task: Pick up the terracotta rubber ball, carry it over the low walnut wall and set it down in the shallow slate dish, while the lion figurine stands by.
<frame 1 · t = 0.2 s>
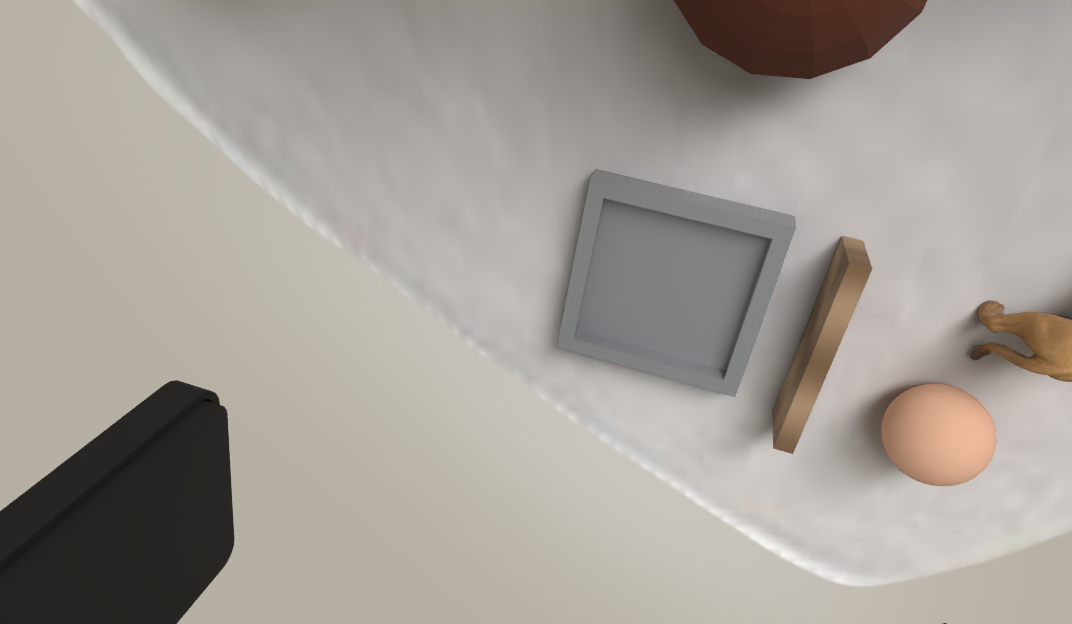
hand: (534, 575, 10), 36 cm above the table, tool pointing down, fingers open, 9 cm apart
ball: (927, 405, 46), on the table
walnut wall: (814, 332, 46), on the table
slate dish: (668, 280, 47), on the table
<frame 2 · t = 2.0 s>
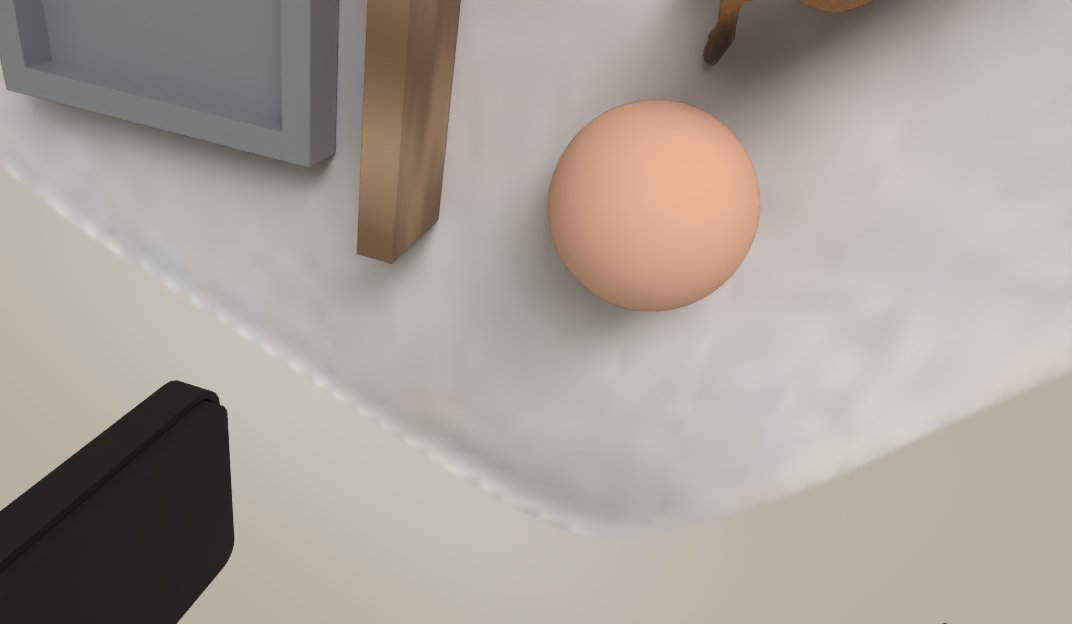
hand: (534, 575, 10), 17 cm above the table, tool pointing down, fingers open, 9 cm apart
ball: (662, 176, 24), on the table
walnut wall: (439, 28, 23), on the table
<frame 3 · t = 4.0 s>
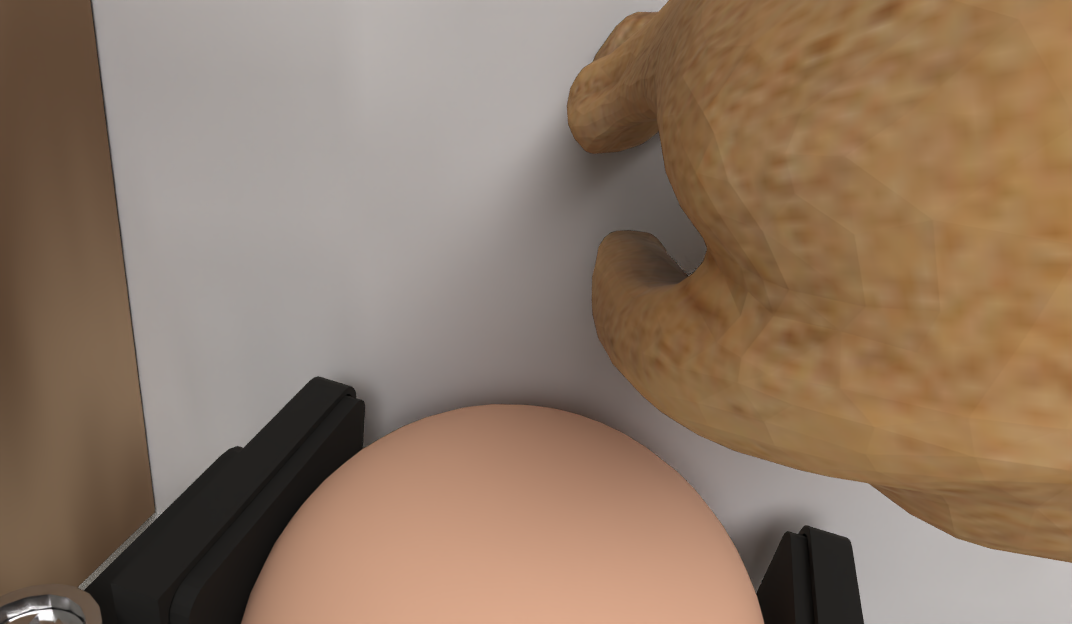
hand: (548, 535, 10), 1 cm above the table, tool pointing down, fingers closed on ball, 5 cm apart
ball: (562, 493, 11), on the table, touching gripper
walnut wall: (79, 181, 11), on the table
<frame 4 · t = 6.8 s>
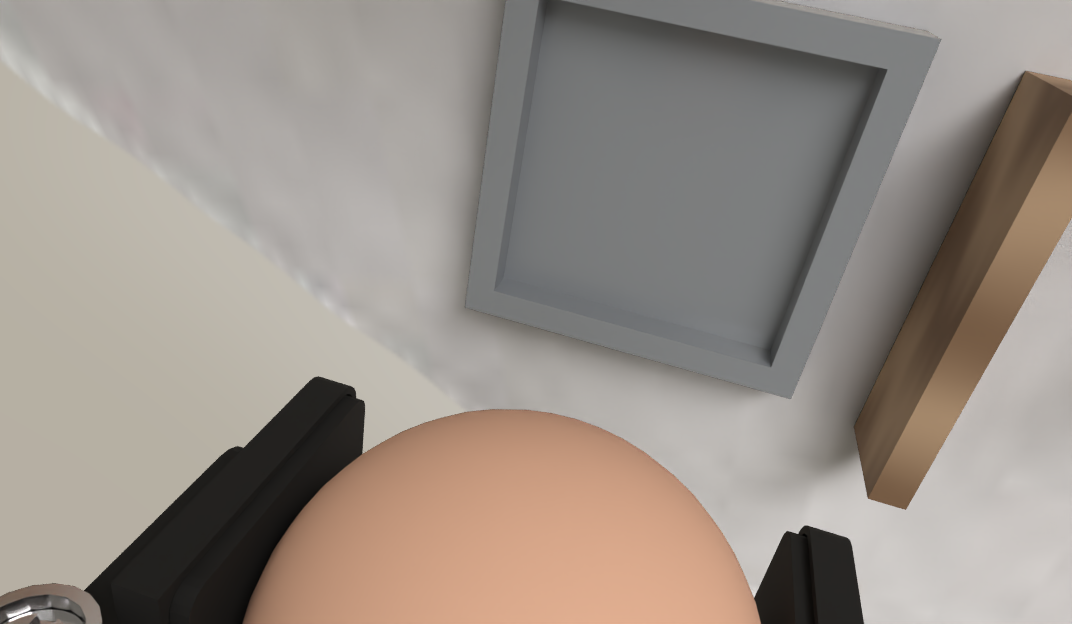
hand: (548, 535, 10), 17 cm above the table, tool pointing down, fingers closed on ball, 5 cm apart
ball: (561, 497, 11), point 16 cm above the table, touching gripper
walnut wall: (947, 277, 24), on the table
slate dish: (669, 178, 25), on the table
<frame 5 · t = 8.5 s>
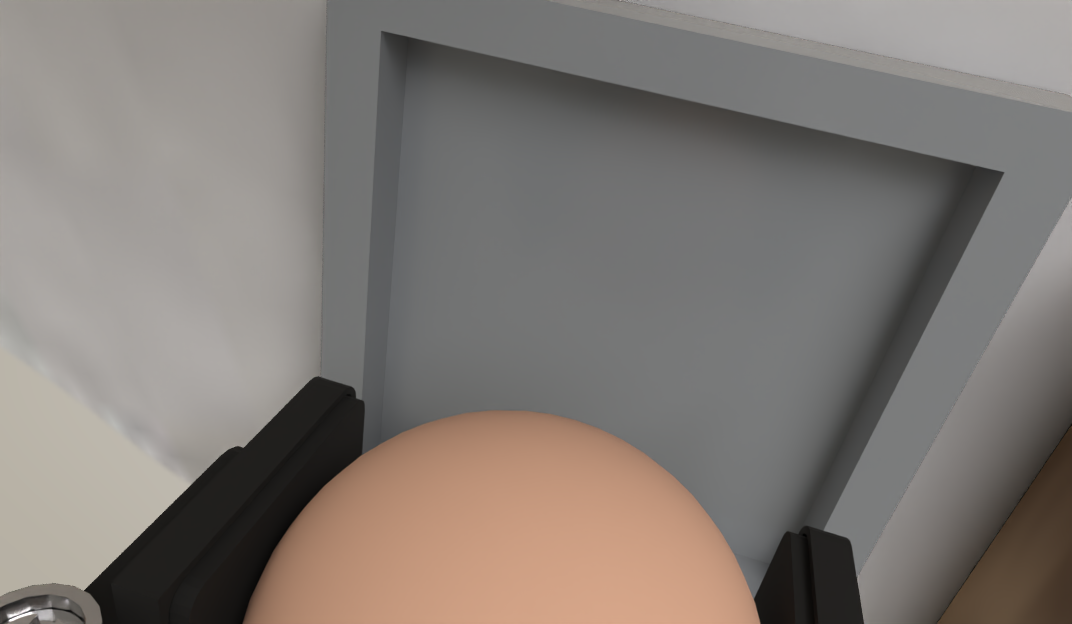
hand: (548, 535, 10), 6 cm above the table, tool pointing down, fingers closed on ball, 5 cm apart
ball: (561, 498, 11), point 5 cm above the table, touching gripper
walnut wall: (1070, 481, 15), on the table
slate dish: (622, 313, 16), on the table
when the fingers open (3 cm above the table, at t = 9.8 s): ball drops 1 cm, resting on slate dish.
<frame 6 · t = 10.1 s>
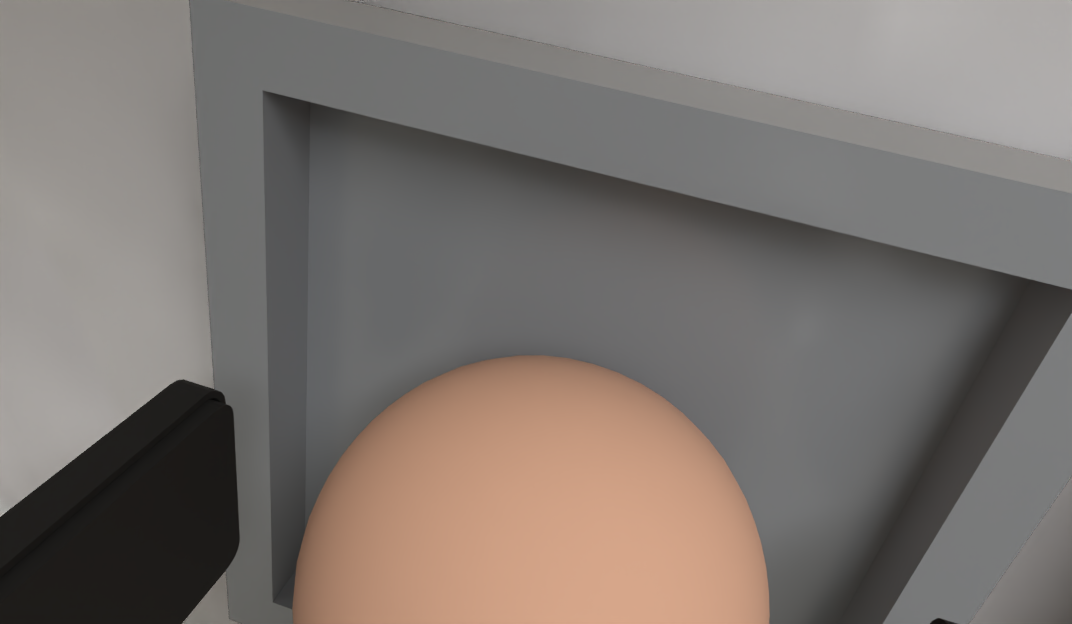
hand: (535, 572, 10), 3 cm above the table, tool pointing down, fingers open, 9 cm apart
ball: (578, 445, 12), point 1 cm above the table, touching slate dish
slate dish: (586, 423, 13), on the table
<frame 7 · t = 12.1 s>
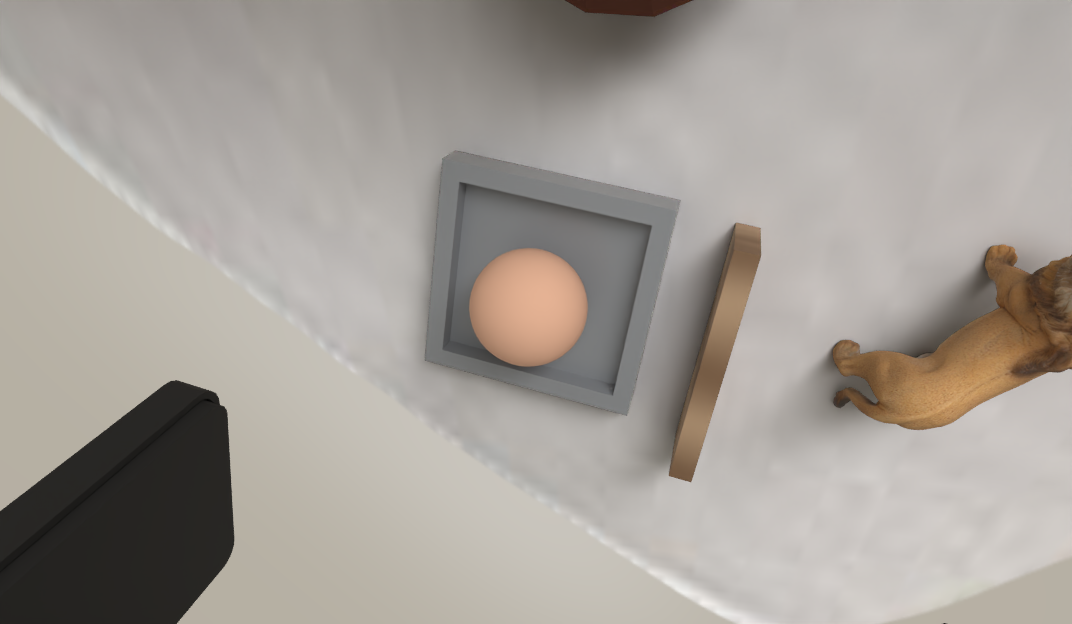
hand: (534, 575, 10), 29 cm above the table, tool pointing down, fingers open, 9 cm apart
ball: (544, 284, 40), point 1 cm above the table, touching slate dish
walnut wall: (714, 338, 39), on the table
lion figurine: (958, 297, 36), on the table
slate dish: (547, 280, 41), on the table
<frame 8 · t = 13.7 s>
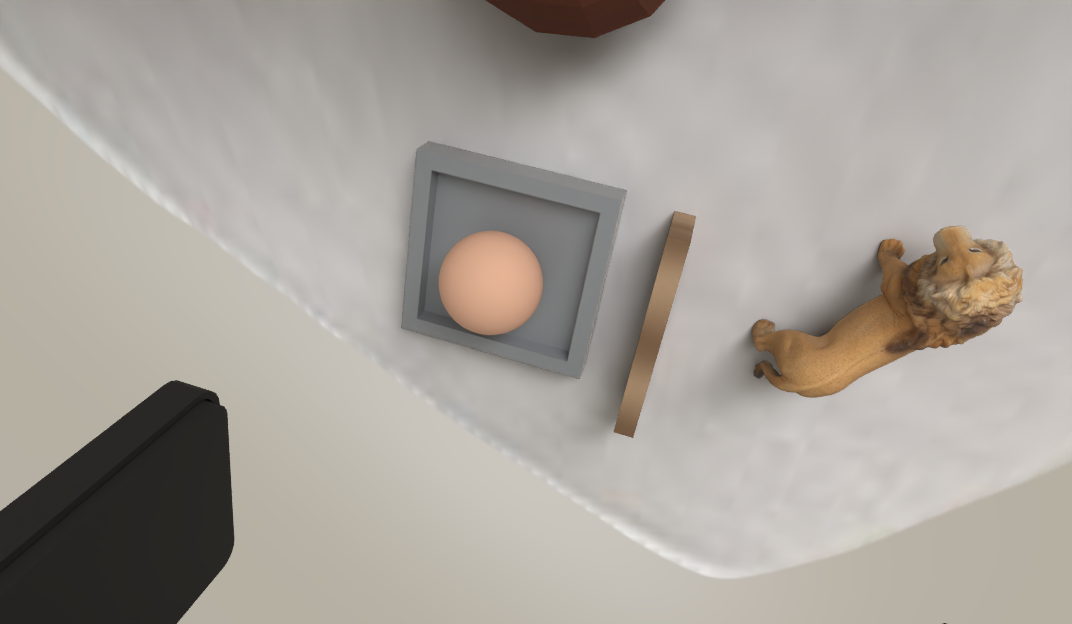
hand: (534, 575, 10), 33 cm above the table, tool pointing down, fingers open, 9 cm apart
ball: (507, 262, 45), point 1 cm above the table, touching slate dish
walnut wall: (657, 312, 45), on the table
lion figurine: (857, 283, 41), on the table
slate dish: (510, 258, 46), on the table
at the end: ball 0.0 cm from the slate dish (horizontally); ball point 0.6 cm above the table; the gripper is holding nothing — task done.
